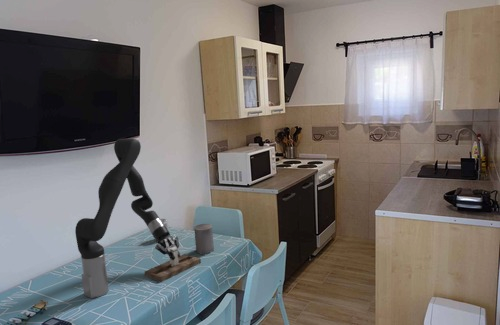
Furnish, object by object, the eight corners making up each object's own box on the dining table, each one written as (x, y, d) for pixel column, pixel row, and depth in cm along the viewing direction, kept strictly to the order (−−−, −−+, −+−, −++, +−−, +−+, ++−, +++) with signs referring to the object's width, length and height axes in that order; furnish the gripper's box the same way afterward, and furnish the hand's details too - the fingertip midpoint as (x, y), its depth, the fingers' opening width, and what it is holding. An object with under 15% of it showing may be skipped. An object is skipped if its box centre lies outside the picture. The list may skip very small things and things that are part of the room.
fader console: (161, 282, 176) (160, 277, 175) (145, 275, 183) (144, 271, 183) (200, 262, 195) (200, 258, 195) (184, 257, 202) (184, 253, 202)
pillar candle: (199, 247, 217) (196, 221, 214) (216, 247, 215) (214, 221, 213) (193, 254, 207) (191, 227, 205) (211, 254, 206) (209, 227, 203)
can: (165, 241, 229) (164, 221, 227) (154, 241, 231) (152, 221, 229) (171, 237, 236) (169, 218, 235) (159, 236, 238) (157, 218, 236)
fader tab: (174, 267, 187) (173, 249, 186) (170, 266, 189) (168, 248, 188) (178, 266, 189) (177, 248, 188) (174, 264, 191) (172, 246, 190)
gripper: (149, 229, 186) (168, 258, 180) (172, 221, 196) (190, 249, 191) (144, 238, 190) (162, 267, 184) (166, 230, 201) (184, 257, 195)
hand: (176, 257), depth 187 cm, fingers closed on fader tab, 2 cm apart
